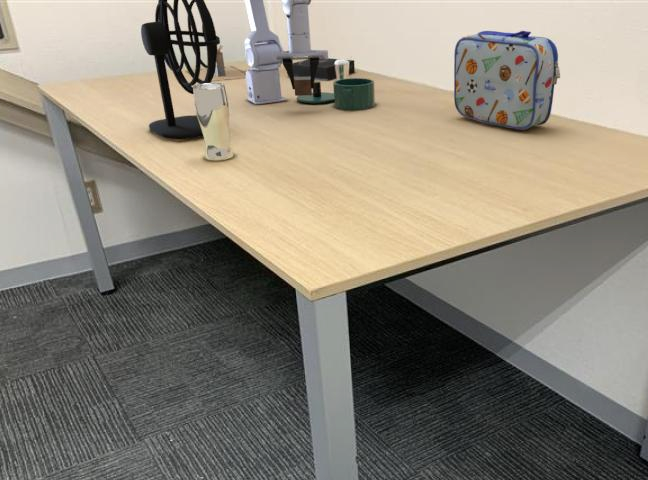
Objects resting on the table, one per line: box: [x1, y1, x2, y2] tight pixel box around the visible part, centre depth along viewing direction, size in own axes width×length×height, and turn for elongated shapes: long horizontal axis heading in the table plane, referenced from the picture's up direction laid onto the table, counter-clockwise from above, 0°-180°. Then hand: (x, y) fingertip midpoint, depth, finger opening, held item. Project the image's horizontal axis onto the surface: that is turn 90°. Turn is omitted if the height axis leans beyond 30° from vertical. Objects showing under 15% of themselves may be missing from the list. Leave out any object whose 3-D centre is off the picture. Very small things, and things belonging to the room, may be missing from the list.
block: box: [294, 77, 313, 97], centre depth 180 cm, size 4×4×4 cm
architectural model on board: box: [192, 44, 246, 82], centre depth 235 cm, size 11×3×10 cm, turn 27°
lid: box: [296, 80, 334, 105], centre depth 195 cm, size 12×12×5 cm
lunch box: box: [453, 30, 561, 130], centre depth 162 cm, size 28×10×22 cm, turn 45°
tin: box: [332, 77, 376, 111], centre depth 188 cm, size 11×17×6 cm
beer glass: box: [192, 82, 234, 162], centre depth 144 cm, size 7×7×15 cm
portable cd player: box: [286, 57, 356, 81], centre depth 231 cm, size 16×17×4 cm
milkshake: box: [334, 55, 352, 81], centre depth 205 cm, size 4×5×10 cm
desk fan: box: [140, 0, 221, 141], centre depth 159 cm, size 27×18×35 cm, turn 36°
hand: (303, 88), depth 180 cm, fingers closed on block, 4 cm apart
